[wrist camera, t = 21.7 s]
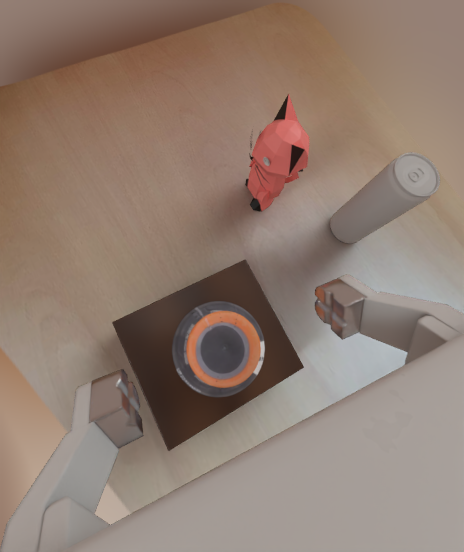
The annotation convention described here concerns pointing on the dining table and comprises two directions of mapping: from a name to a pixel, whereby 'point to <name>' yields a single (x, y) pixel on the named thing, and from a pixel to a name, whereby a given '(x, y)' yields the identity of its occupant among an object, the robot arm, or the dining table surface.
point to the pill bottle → (218, 349)
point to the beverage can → (386, 197)
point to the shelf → (159, 361)
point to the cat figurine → (277, 157)
